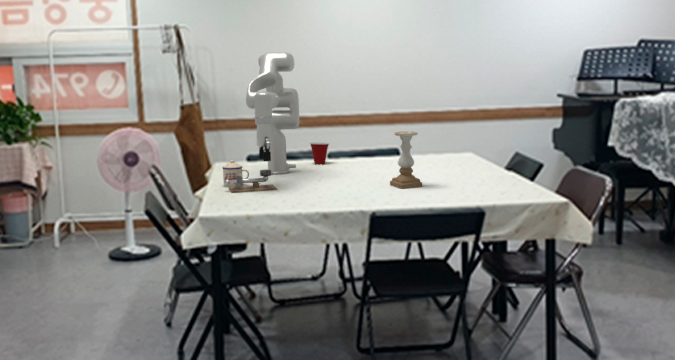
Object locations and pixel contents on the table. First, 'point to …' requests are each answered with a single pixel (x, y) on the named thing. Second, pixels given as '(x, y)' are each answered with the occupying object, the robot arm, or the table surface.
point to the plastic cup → (319, 152)
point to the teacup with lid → (232, 172)
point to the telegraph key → (255, 187)
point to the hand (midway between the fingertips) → (265, 159)
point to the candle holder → (405, 164)
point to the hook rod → (262, 173)
